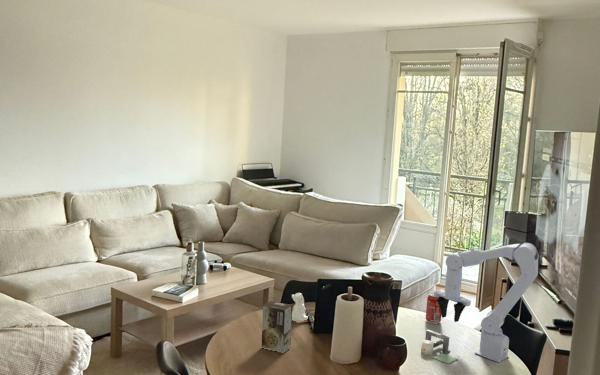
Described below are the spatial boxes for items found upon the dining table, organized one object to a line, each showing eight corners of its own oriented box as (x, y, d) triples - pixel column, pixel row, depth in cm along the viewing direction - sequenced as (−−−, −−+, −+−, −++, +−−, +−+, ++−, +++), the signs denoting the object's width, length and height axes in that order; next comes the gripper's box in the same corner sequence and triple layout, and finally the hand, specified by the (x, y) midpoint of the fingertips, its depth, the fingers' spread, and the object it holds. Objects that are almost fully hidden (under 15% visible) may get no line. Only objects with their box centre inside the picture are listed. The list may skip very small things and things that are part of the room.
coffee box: (291, 348, 199) (293, 304, 197) (283, 354, 193) (285, 310, 192) (268, 342, 203) (271, 300, 201) (260, 348, 197) (262, 305, 195)
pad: (457, 359, 197) (457, 358, 197) (448, 364, 193) (448, 363, 193) (442, 354, 201) (442, 353, 201) (433, 358, 197) (433, 357, 197)
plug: (445, 348, 206) (446, 338, 206) (426, 357, 198) (427, 346, 198) (436, 345, 209) (437, 335, 209) (416, 353, 201) (417, 342, 201)
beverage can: (439, 320, 237) (441, 293, 236) (441, 325, 231) (444, 297, 229) (424, 318, 238) (426, 291, 236) (426, 324, 231) (428, 296, 230)
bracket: (450, 351, 204) (451, 336, 203) (443, 354, 201) (444, 338, 200) (429, 343, 210) (430, 328, 210) (422, 346, 207) (423, 331, 206)
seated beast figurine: (315, 321, 227) (316, 293, 225) (300, 326, 221) (302, 297, 219) (298, 315, 233) (300, 288, 232) (284, 320, 227) (285, 291, 226)
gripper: (476, 287, 206) (472, 322, 207) (442, 278, 216) (439, 311, 218) (466, 290, 201) (463, 326, 203) (432, 281, 211) (429, 315, 213)
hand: (450, 319), depth 210 cm, fingers open, 5 cm apart
